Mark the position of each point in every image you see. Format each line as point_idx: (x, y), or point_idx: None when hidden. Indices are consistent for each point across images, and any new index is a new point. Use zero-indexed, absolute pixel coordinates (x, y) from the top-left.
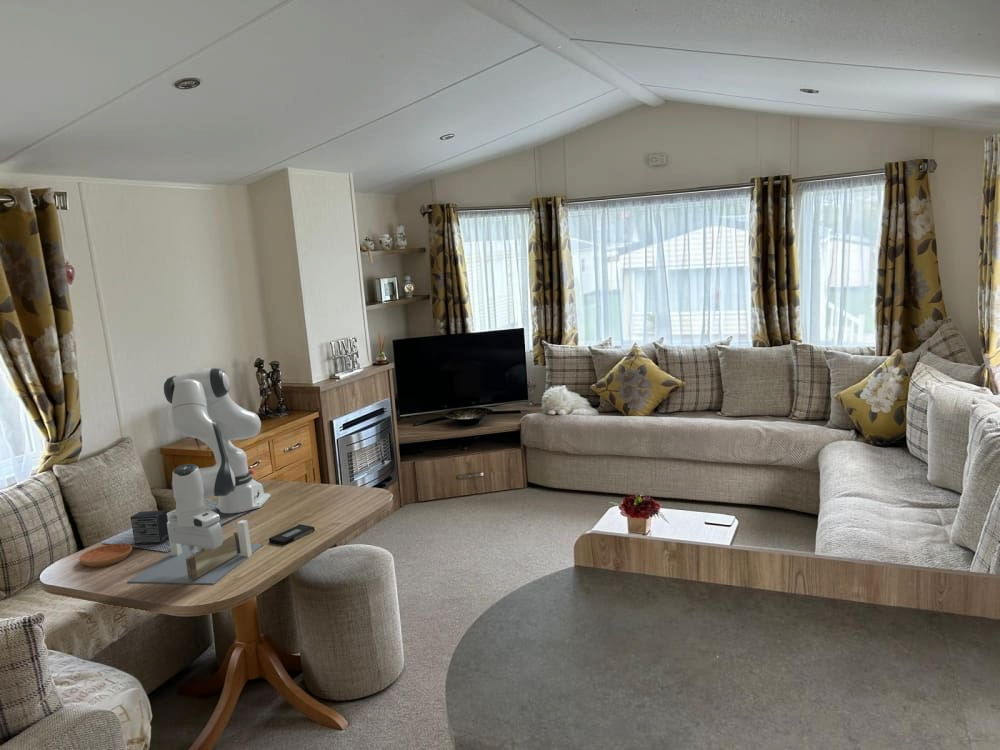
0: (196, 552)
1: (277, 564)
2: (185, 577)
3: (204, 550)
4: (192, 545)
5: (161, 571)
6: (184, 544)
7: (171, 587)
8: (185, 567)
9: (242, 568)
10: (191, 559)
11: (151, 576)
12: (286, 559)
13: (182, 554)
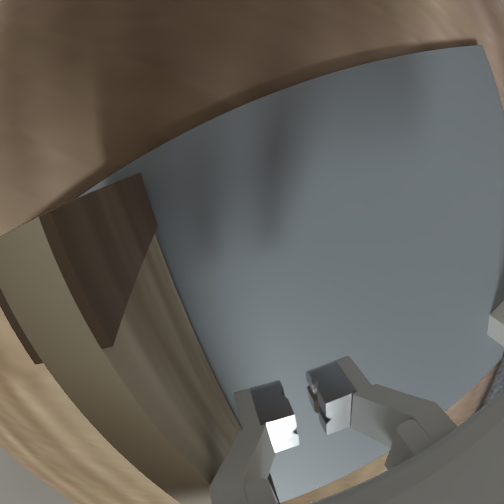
0: (331, 418)
1: (49, 471)
2: (255, 199)
3: (169, 490)
4: (353, 492)
5: (463, 181)
6: (483, 409)
7: (206, 56)
8: (396, 285)
9: (98, 433)
10: (6, 282)
11: (457, 113)
12: (73, 491)
13: (480, 329)
